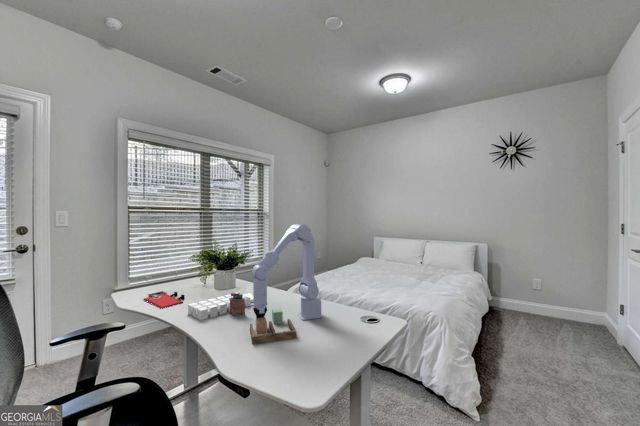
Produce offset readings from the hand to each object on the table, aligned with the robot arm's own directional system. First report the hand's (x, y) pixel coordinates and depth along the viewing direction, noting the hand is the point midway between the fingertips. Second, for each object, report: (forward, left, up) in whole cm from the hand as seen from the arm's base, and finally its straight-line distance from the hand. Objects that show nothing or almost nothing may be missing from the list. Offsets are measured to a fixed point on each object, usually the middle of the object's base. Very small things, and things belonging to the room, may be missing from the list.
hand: (260, 324), depth 120 cm
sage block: (-8, -4, -1) cm, 9 cm away
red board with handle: (+48, -55, -2) cm, 73 cm away
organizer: (+13, -30, -2) cm, 33 cm away
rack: (-4, +8, -1) cm, 9 cm away
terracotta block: (0, +5, -1) cm, 5 cm away
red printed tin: (+9, -19, -1) cm, 21 cm away
